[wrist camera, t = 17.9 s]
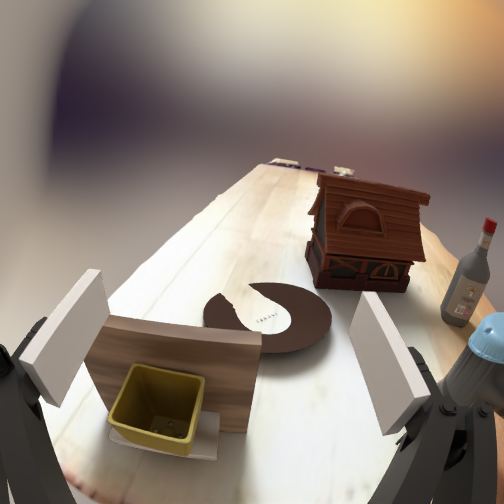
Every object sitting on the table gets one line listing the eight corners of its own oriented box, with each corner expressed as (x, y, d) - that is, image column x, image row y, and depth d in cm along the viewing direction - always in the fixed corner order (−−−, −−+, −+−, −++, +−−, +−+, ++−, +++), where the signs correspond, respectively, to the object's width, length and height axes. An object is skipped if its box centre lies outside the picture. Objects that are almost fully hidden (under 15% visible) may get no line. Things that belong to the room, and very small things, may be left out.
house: (309, 298, 71) (333, 185, 58) (296, 249, 96) (309, 164, 83) (421, 302, 72) (454, 208, 59) (387, 257, 97) (406, 181, 84)
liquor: (466, 329, 60) (510, 230, 46) (441, 322, 63) (483, 219, 50) (462, 312, 67) (499, 220, 54) (438, 305, 71) (473, 210, 57)
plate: (275, 274, 80) (276, 262, 79) (352, 330, 60) (356, 317, 59) (182, 302, 65) (181, 289, 63) (252, 387, 45) (254, 375, 43)
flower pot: (196, 471, 25) (189, 444, 21) (126, 454, 25) (104, 420, 21) (207, 415, 33) (206, 376, 29) (146, 402, 33) (133, 361, 29)
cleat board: (245, 472, 30) (263, 401, 21) (96, 446, 29) (38, 360, 20) (246, 393, 44) (259, 298, 35) (121, 376, 43) (94, 281, 34)
